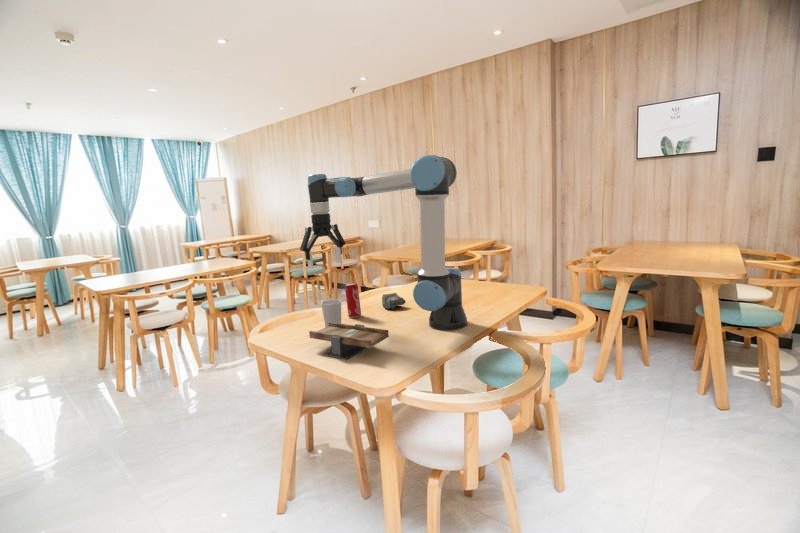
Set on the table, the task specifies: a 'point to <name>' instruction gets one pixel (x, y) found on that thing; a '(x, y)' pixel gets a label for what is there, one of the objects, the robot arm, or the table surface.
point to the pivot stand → (343, 348)
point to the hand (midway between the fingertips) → (325, 265)
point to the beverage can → (353, 300)
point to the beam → (351, 334)
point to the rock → (392, 300)
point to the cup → (331, 311)
